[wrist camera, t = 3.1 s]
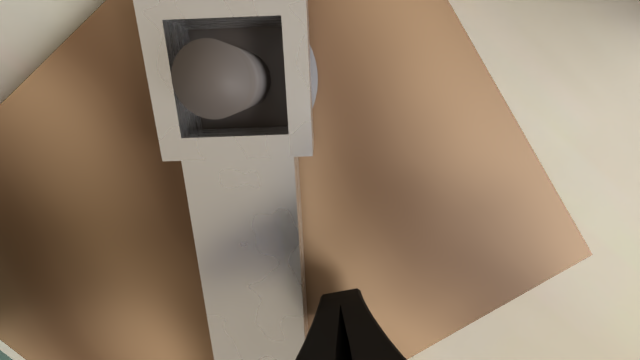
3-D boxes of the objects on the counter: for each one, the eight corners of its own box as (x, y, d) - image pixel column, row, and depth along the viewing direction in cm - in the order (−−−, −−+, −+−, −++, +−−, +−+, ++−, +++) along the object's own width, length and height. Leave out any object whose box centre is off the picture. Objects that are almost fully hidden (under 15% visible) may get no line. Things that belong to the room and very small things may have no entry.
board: (324, -179, 9) (328, -414, 5) (568, 238, 13) (694, 319, 8) (-93, 222, 13) (-307, 296, 8) (196, 455, 16) (151, 589, 12)
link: (163, 7, 9) (131, -8, 7) (308, 0, 9) (305, -15, 7) (227, 410, 13) (215, 453, 12) (324, 408, 13) (325, 450, 12)
